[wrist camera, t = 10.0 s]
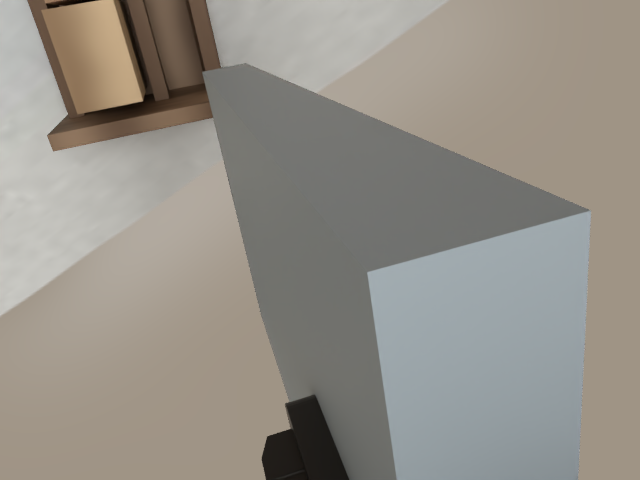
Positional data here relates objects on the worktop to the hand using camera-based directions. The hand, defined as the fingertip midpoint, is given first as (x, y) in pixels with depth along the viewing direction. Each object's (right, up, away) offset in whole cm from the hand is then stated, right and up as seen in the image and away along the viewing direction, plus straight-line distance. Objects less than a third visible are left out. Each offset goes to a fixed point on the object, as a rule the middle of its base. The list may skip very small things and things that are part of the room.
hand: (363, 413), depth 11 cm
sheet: (-4, +6, +15) cm, 17 cm away
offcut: (-17, +18, +29) cm, 39 cm away
